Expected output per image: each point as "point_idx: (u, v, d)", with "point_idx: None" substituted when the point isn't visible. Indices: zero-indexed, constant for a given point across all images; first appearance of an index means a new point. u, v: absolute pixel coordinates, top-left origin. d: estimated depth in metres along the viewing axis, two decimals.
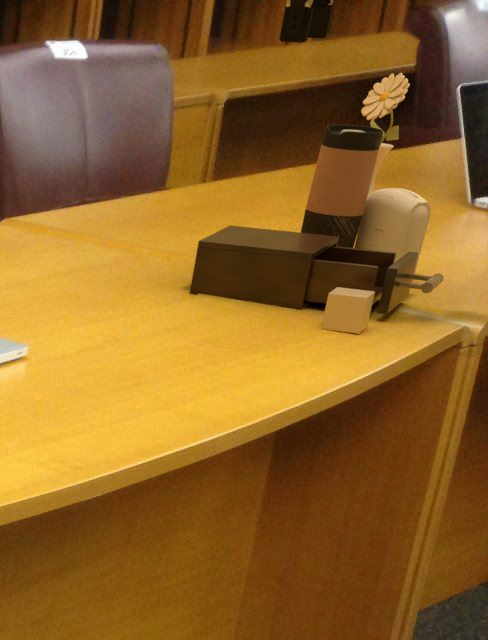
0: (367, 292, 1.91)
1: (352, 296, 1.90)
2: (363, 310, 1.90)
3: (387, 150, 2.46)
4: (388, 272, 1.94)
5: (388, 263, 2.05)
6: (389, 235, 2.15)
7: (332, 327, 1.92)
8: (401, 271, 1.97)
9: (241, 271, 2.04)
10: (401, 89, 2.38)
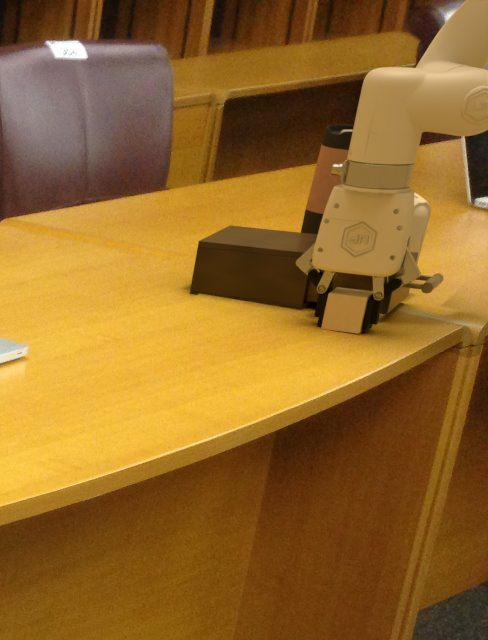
0: (367, 292, 1.91)
1: (352, 296, 1.90)
2: (363, 310, 1.90)
3: None
4: None
5: None
6: None
7: (332, 327, 1.92)
8: (401, 271, 1.97)
9: (241, 271, 2.04)
10: None
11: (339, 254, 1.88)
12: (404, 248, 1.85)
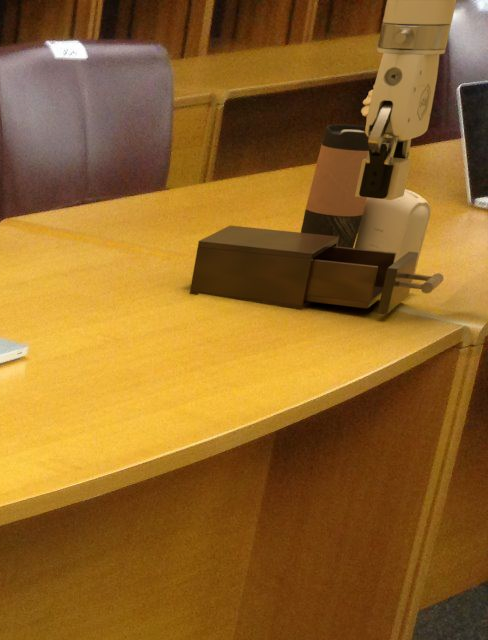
0: None
1: (406, 161, 1.91)
2: (408, 172, 1.93)
3: None
4: (388, 272, 1.94)
5: (388, 263, 2.05)
6: (389, 235, 2.15)
7: (396, 195, 1.92)
8: (401, 271, 1.97)
9: (241, 271, 2.04)
10: None
11: (415, 121, 1.87)
12: None
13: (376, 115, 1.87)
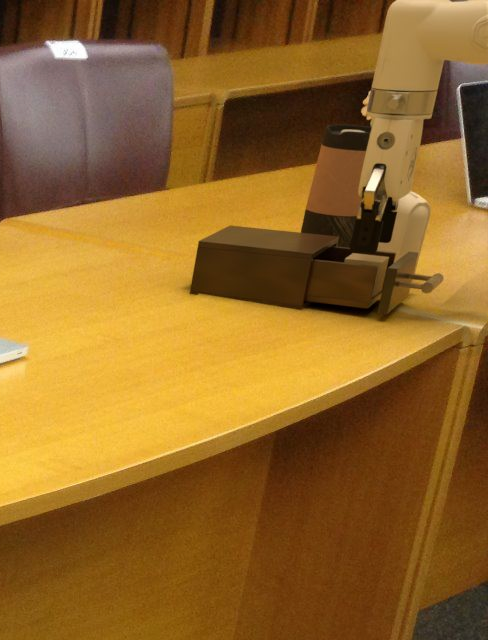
0: (361, 254, 2.03)
1: (385, 259, 2.00)
2: None
3: None
4: (388, 272, 1.94)
5: (388, 263, 2.05)
6: None
7: (376, 292, 2.01)
8: (401, 271, 1.97)
9: (241, 271, 2.04)
10: None
11: (405, 182, 1.94)
12: None
13: (369, 177, 1.93)
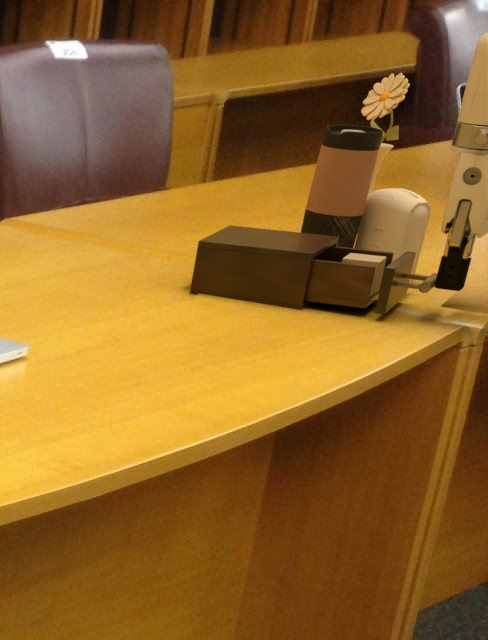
0: (359, 254, 2.03)
1: (383, 259, 2.01)
2: (383, 268, 2.02)
3: (387, 150, 2.46)
4: (386, 272, 1.95)
5: (386, 263, 2.05)
6: (389, 235, 2.15)
7: (374, 292, 2.01)
8: (399, 271, 1.97)
9: (241, 271, 2.04)
10: (401, 89, 2.38)
11: None
12: None
13: (454, 213, 1.89)
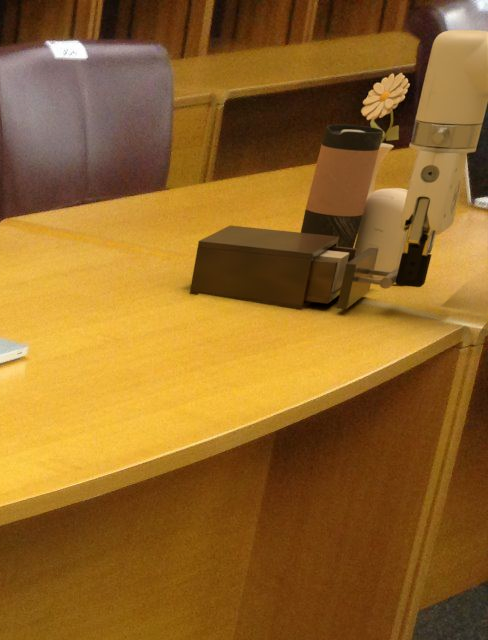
0: None
1: (345, 255, 2.03)
2: None
3: (387, 150, 2.46)
4: (347, 267, 1.97)
5: (349, 259, 2.07)
6: (389, 235, 2.15)
7: (337, 287, 2.04)
8: (360, 266, 1.99)
9: (241, 271, 2.04)
10: (401, 89, 2.38)
11: (448, 215, 1.92)
12: None
13: (413, 210, 1.92)
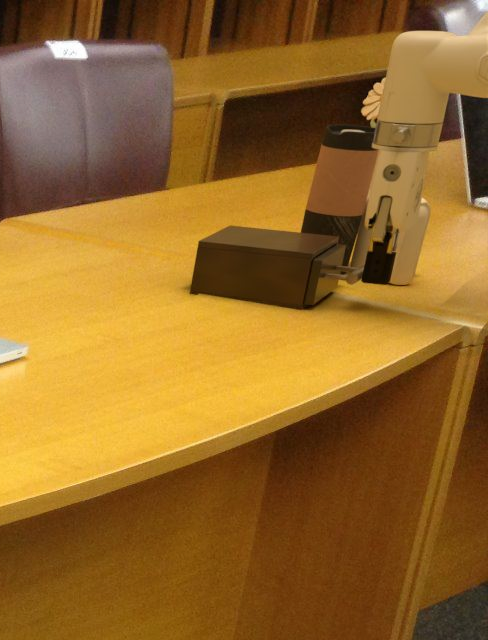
0: None
1: None
2: None
3: None
4: (313, 264, 1.99)
5: (317, 255, 2.09)
6: None
7: None
8: (327, 263, 2.01)
9: (241, 271, 2.04)
10: None
11: (411, 213, 1.95)
12: None
13: (376, 209, 1.94)
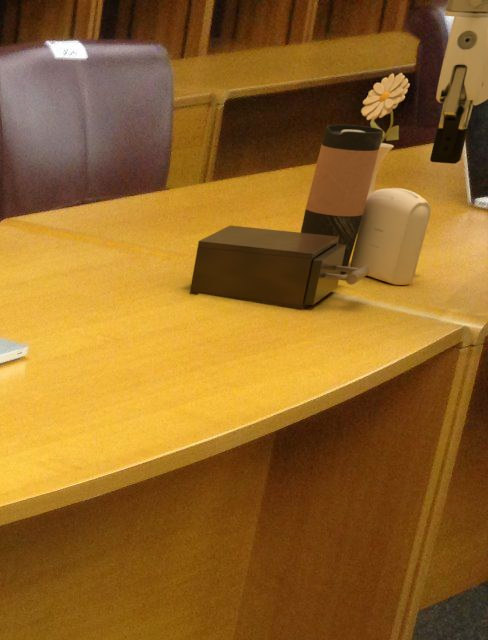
0: None
1: None
2: None
3: (387, 150, 2.46)
4: (313, 264, 1.99)
5: (317, 255, 2.09)
6: (389, 235, 2.15)
7: None
8: (327, 263, 2.01)
9: (241, 271, 2.04)
10: (401, 89, 2.38)
11: (486, 85, 1.85)
12: None
13: (449, 80, 1.85)
